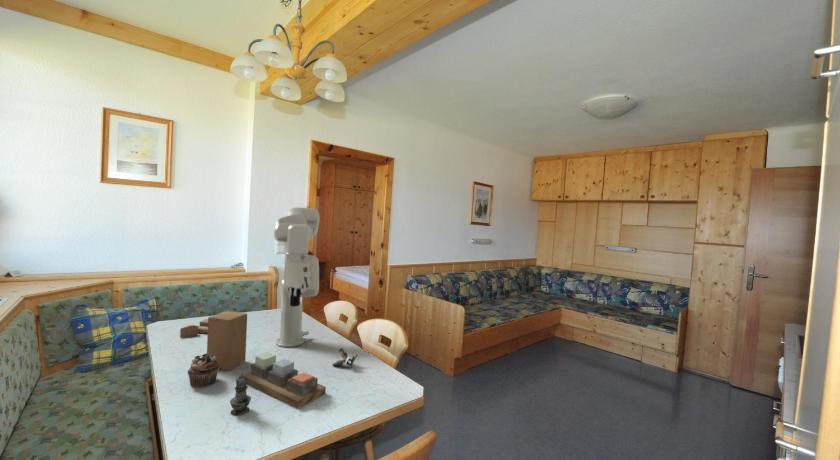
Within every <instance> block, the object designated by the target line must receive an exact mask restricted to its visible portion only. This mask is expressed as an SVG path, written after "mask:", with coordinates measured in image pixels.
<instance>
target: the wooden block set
mask: <svg viewBox="0 0 840 460" xmlns="http://www.w3.org/2000/svg"><path fill="white" fill-rule="evenodd" d="M199 334H205V335H206V334H207V335H208V318H206V319H203V320H200V321H199V325H196V324H195V325H194V324H191V325H190V324H188V325H186V326H184V327H181V328H180V331H179V338H187V337H194V336H198V335H199Z"/></svg>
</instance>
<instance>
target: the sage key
mask: <svg viewBox="0 0 840 460" xmlns="http://www.w3.org/2000/svg"><path fill="white" fill-rule="evenodd" d="M254 360H255V361H254V363H255V365H256V366H258V367H261V368H263V369H264V368H266V367H269V366H271V365H273V363H275V362H277V355H276V354H273V353H270V352H268V351H267V352H264V353H261V354H258V355H256V356H255V358H254Z"/></svg>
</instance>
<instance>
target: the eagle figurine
mask: <svg viewBox="0 0 840 460" xmlns="http://www.w3.org/2000/svg"><path fill="white" fill-rule="evenodd" d="M338 352H339V354H340V356H341V358H343V359H340V360H337V361H335V362H334V363H332V366H333V367H335V366H342V365H343V364H347V365H349V366H350V369H352V367H353V363H354V362H355V360H356V359H357V357H358V354H356V355H355V356H354V355H352V358H350V356H349V355H348V353H347V352H346V351H345V350H344V348H343V347H340V348H339V350H338ZM349 361H350V362H349Z"/></svg>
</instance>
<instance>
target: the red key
mask: <svg viewBox="0 0 840 460" xmlns="http://www.w3.org/2000/svg"><path fill="white" fill-rule="evenodd" d="M313 377H315V376H313V375H312V374H309V373H306V372H304V371H303V372H301V373H298V375H296V376H294V377H292V381H293V382H296V383H298V384H300V385H303V384H305V383H307V382H309V381H311V380H313Z"/></svg>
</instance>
